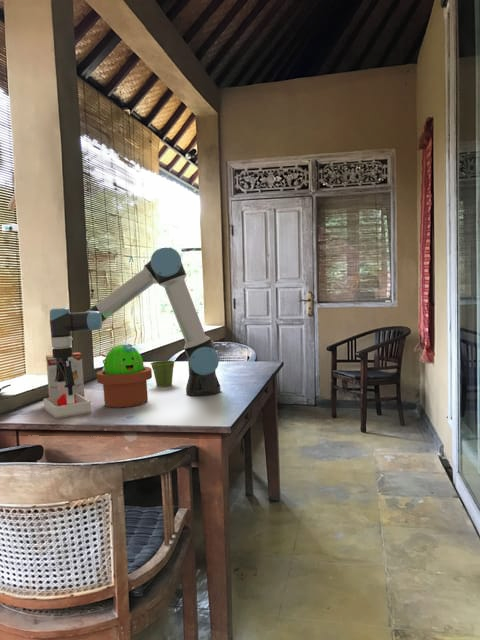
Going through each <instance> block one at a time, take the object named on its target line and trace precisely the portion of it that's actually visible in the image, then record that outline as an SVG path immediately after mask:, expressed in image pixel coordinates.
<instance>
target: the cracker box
mask: <svg viewBox="0 0 480 640" xmlns="http://www.w3.org/2000/svg"><path fill="white" fill-rule="evenodd" d="M45 361H46V375H47V386H48V387H47V389H48V398H50V397H56V396H59V393H58V382H57V380H56V364H57V363H56V358H53V354H49V355H46V356H45ZM68 361H71V368H72V373H73V378H74V383H75V385H73V390H74V394H75V393H77V394H79V395H81V396H82V397H84V398H85V387H84V369H83V353H81V352H73V356H72V357H68ZM65 385H66V383H65ZM65 389H66V387H65Z"/></svg>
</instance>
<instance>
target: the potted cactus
mask: <svg viewBox="0 0 480 640" xmlns="http://www.w3.org/2000/svg"><path fill="white" fill-rule="evenodd" d="M105 356H106V357H105V358H104V362H103V370H99V371H97V372H96V382H97V383H98V384H100V385H102V386H103V401H104V405H105V406H106V407H109V408H115V409H116V408H117V409H119V408H129V407H130V406H131V407H135V405H136V406H139V405H140V406H141V405H143V404H145V403H147V402H148V400H149V397H148V383H147V382H148V380H150V379H152V377H153V373H152V372H153V369H152V367H150V366H146V365H144V360H143V357H142V355H141V353H140V352H139V350H137V348H135V347H133V344H129V343H125V344H118V345H113V347H112V348H111V349H109V350H108V352H107V354H106V355H105Z"/></svg>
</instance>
